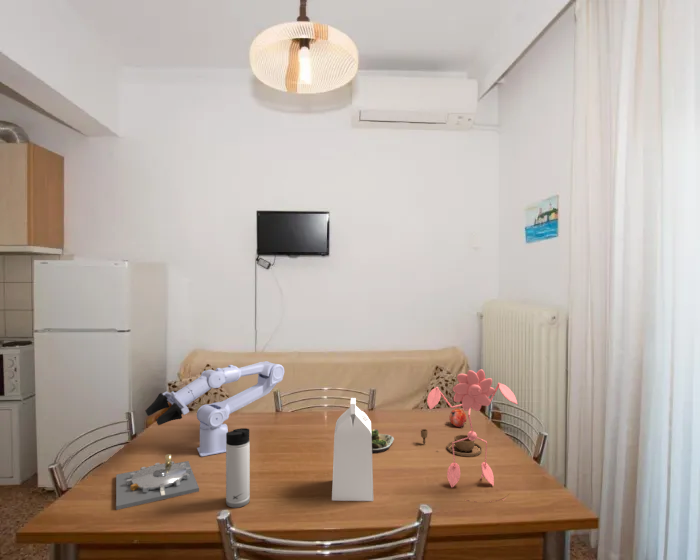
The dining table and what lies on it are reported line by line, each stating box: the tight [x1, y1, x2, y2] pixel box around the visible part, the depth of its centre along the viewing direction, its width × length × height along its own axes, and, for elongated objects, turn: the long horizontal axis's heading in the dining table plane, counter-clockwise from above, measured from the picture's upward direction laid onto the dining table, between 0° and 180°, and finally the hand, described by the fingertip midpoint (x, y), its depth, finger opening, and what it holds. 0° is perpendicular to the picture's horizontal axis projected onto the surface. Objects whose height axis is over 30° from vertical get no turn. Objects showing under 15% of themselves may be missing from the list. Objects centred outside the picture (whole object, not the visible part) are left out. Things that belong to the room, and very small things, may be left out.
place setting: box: [420, 428, 483, 457], centre depth 157 cm, size 18×20×6 cm
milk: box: [331, 397, 374, 502], centre depth 125 cm, size 12×12×26 cm
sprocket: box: [127, 453, 192, 492], centre depth 130 cm, size 18×18×4 cm
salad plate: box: [371, 428, 395, 454], centre depth 162 cm, size 19×18×5 cm
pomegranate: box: [448, 408, 468, 428], centre depth 180 cm, size 7×7×10 cm
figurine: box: [426, 369, 518, 503], centre depth 125 cm, size 15×26×35 cm, turn 92°
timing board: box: [115, 460, 200, 511], centre depth 129 cm, size 21×21×1 cm
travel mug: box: [225, 427, 251, 509], centre depth 118 cm, size 6×7×20 cm
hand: (151, 417), depth 140 cm, fingers open, 7 cm apart
